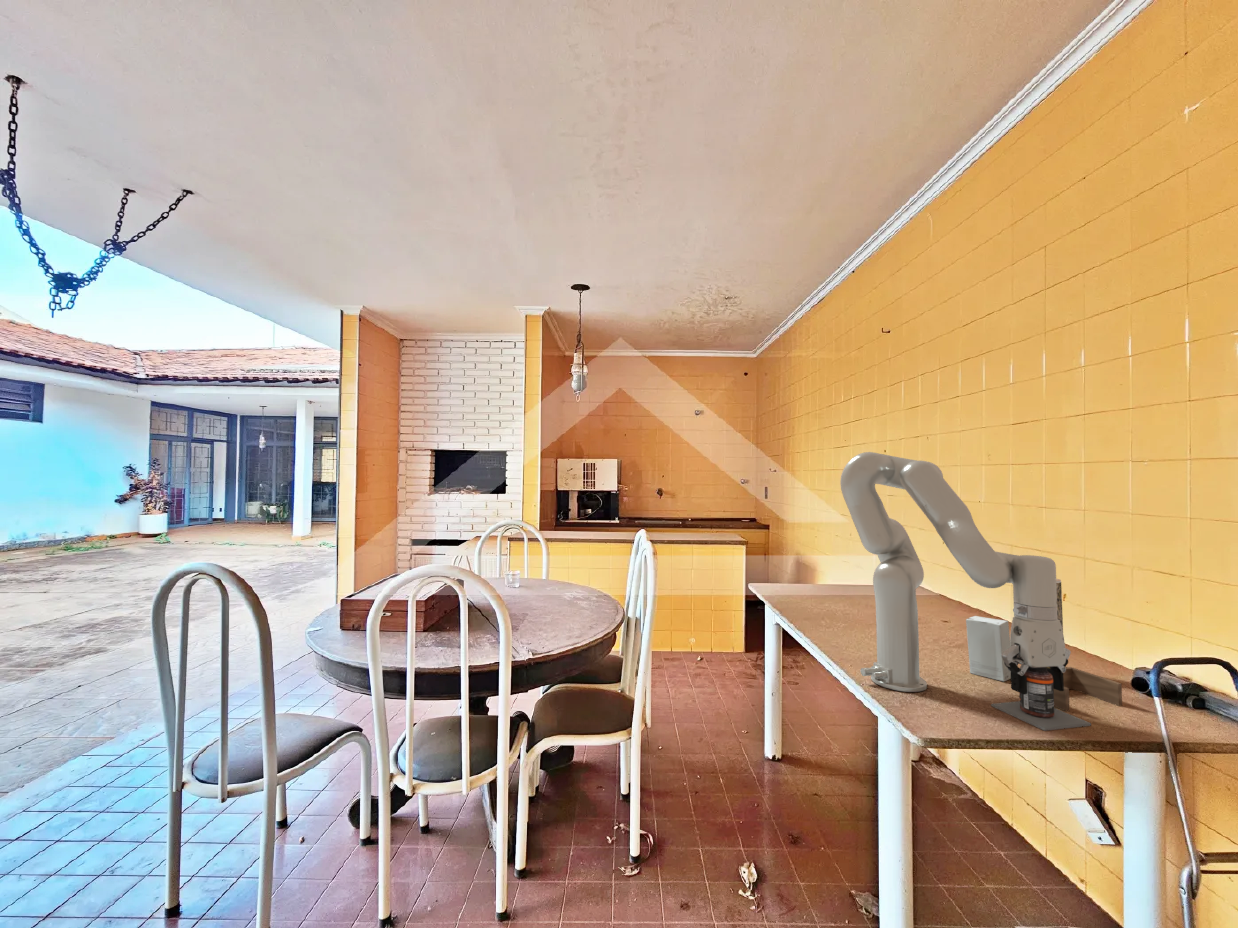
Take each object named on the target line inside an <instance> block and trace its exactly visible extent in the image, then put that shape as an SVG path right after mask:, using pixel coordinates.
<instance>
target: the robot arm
mask: <svg viewBox="0 0 1238 928" xmlns="http://www.w3.org/2000/svg"><path fill="white" fill-rule="evenodd" d="M876 485H882V486H887V487H891V488H896V489H901V490H905V491H906V493H907V494H908V495H909V496H910V497H911V499H912V500H913V501H914V503H915V504H916V505H917V506H918V508H919V509H920V510H921V511H922V513H923V514H924V515H925V517H926V518H927V520H929V522H930V523H931V524H932V526H933V527H934V529H935V531H936V532H937V534H938V535H939V537H940V538H941V540H942V542H943V543H944V544H945V547H947V549H948V550H949V552H950V554H951V555H952V556H953V557H954V559H955V560H956V561H957V563H958V564H959V565H960V566H961V568H962V569H963V571H964V572H965V573H966V574H967V576H969V578H970V579H971V580H972V581H973V582H974V583H976V584H977V585H978V586H980V587H984V588H987V589H997V588H1000V587H1002V586H1005V584H1012V589H1013V590H1012V596H1013V597H1012V598H1013V609H1012V612H1013V617H1012V620H1011V626H1010V628H1011V629H1010V634H1009V635H1010V648H1008V649H1007V650H1006V651H1004V652H1003V653H1002V654H1001V656H1002V658H1003V661H1004V664H1005V666H1006V667H1007V668H1008V671H1010V672H1011V679H1010V688H1011V690H1012V691H1015V692H1017V693H1018V694H1019V693H1021V694H1027V676H1025V675H1024V674H1025V672H1026V670H1027V669H1028V667H1029V666H1030V667H1032V668H1043V667H1049V668H1047V671H1048V672H1049V673H1050V674H1051V675H1052V676H1053V688H1054V689H1056V690H1059V691H1064V679H1063V673H1064V672H1065V671H1066V669H1065V667H1066V666H1068V664H1069V659H1070V656H1071V651H1072V650H1070V649H1068V648H1066V642H1065V636H1064V629H1063V630H1062V626H1061V623H1060V620H1058V619H1057V586H1056V579H1057V565H1056V562H1055V560H1053V559H1052V558H1051V557H1046V556H1043V555H1030V554H1027V555H1026V554H1023V555H1022V554H1021V555H1018V554H1011V553H1006V552H1001V551H996V550H994V548H993V547H992V546H991V545H990V543H988V541H987V540H986V539H985V537H984V536H983V534H982V533H981V532H980V530H979V528H978V527H977V525H976V523H975V522H974V519H973V516H972V513H971V510H970V509H969V507H968V506H967V505H966V504H965V502H964V501H963V500H962V499H961V497H959V495H958V494H957V493H956V492H955V491H954V489H953V488H952V487H951V485H950V484H948V482H947V481H946V480H945V478H944V474H943V472H942V470H941V468H940V467H939V466H938V465H936V464H935V463H933V462H930V461H927V460H917V459H916V460H915V459H909V458H904V457H900V456H893V455H888V454H882V453H877V452H873V451H866V452H862V453H861V452H860V453H858V454H857V455H854V456H853V457H852V458H851V459H850V460H849V461H848V462H847V463H846V464H845V466H844V468H843V470H842V472H841V475H840V490H841V491H840V492H841V494H842V497H843V499H844V502H845V504H846V507H847V510H848V512H849V514H850V517H851V519H852V522H853V524H854V527H855V529H856V532H857V534H858V536H859V539H860V542H861V544H862V547H863V548H864V549H865V550H866V551H868V553H871V554H872V555H876V556H877V557H878V560H879V562H880V563H879V564H878V565H877V566H876V568H875V569H874V573H873V575H872V576H873V577H872V585H873V593H874V600H875V620H876V621H875V622H876V661H874V662H873V664H872V665H871V667H861V668H860V670H859V671H860V675H861V676H863V677H869V676H870V679H871V681H872V682H873V683H874V684H876V685H879V686H881V687H883V688H886V689H889V690H894V691H898V692H904V693H905V692H907V693H916V692H918V693H919V692H923V691H925V690H926V689H927V688H928V683H927V681H926V680H925V678H923V677H921V676H920V675H921V674H920V646H919V645H920V644H919V643H920V642H919V640H920V639H919V635H920V634H919V613H918V611H919V610H918V601H917V593H916V592H917V588H919V587H920V585H922V583H923V580H924V578H925V572H924V568H923V565H922V563H921V561H920V559H919V556H918V554H917V551H916V550H915V547H914V544H913V543H912V541H911V539H910V536H909V534H908V532H907V530H906V529H905V527H904V526H903V525H902V524H901V523H900V522H899V521H897V520H896V519H893V518H890V517H889V515H888V512H887V510H886V508H885V506H884V505H885V504H884V503H883V501H882V499H881V497H880V495H879V494H878V492H877V489H876ZM1019 665H1020V667H1019ZM1062 672H1063V673H1062Z"/></svg>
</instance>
